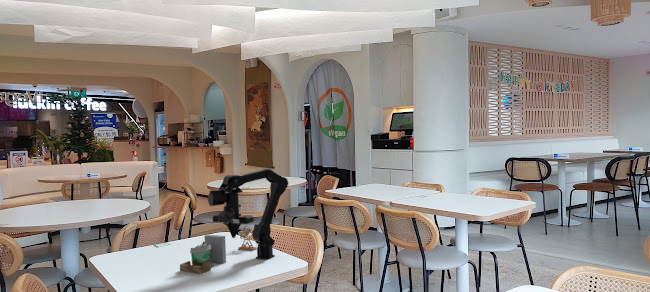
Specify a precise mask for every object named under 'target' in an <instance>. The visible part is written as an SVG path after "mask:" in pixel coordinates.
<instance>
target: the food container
mask: <svg viewBox="0 0 650 292" xmlns="http://www.w3.org/2000/svg"><path fill="white" fill-rule="evenodd" d="M210 249H211V245H210V243H209V242H205V241H202V243H201V244H199V245H196V246H195V247H191V248H190V252H189V254H190V256H191V265H195V266H203V265H206V264H208V263H210V262H209V258H210Z"/></svg>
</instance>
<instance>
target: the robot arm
mask: <svg viewBox="0 0 650 292" xmlns="http://www.w3.org/2000/svg"><path fill="white" fill-rule="evenodd" d="M262 179H265V180H266V181H268V182H269V183H270V187H269V189H270V190H269V191H270V194H269V197H268V199H267V202H266V205H265V208H264V210H263V214H262V216H261V219H260V222H259V223H258V224H256V223H255V224H254V226H253V228H252V230H253V231H252V230H251V232H252V233H253V234H252V233H251V235H252V236H251V237H252V239H253V240H254V242H255V243H256V244H257V247H256V248H257V249H256V251H257V252H256V254H257V256H256V257H255V258H256V259H259V260H269V259H272V258H274V257H275V256H276V255H275V254H274V253H273V252H274V250H273V246H274V244H275V240H274V238H272V236H271V233H272V231H271V229H272V228H271V223H272V221H273V218H274V216H275V212H276V209H277V207H278V204H279V200H280V199H281V198H280V197H281V196H282V195H283V194H284V193H285V192H286V190H287V189H288V186H289V181H288V178H286V177H284V176H281V175H280V174H278V173H276V172H275V171H274V170H272V169H271V168H264V169H260V170H256V171H252V172H247V173H244V174H242V173H241V174H227V175H225V176H224V177H223V180H222V183H221V184H220V186H219V188H218V189H215V190H214V189H211V190H209V193H208V196H207V203H208V205H209V206H210V207H213V206H214V207H215V206H220V205H221V206H222V205H224V204H225V205H224V206H223V210H222V211H220V212H219V213H218V214H215V215H213V216H212V223H222V224H223V225H225V227H227V229H228V230H229V232H230V236H231V238H232V239H235V238H236V236H237V233H238V231H239V229H240V227H241V225H249V224H250V223H253V222H254V221H255V220H254V219H255V218H254V217H253V215H250V214H248V215H247V214H244V215H242V213H240V207H241V204H240V203H239V201H240V200H239V193H243V192H244V191H243V190H242V189H241V188H240V187H242V186H244V185H245V184H247V183H251V182H255V181H260V180H262Z"/></svg>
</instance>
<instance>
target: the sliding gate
mask: <svg viewBox="0 0 650 292" xmlns="http://www.w3.org/2000/svg"><path fill="white" fill-rule="evenodd" d="M204 242H209V243H210V245H211V249H210V258H209V263H218V264H225V263H227V253H226V252H227V251H226V246H227V245H226V235H220V234H219V235H218V234H205V235H204Z"/></svg>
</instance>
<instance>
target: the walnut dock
mask: <svg viewBox="0 0 650 292" xmlns="http://www.w3.org/2000/svg"><path fill="white" fill-rule="evenodd" d="M211 268H212V267H211V262H209V263H208V264H206V265H203V266H195V265H192V261H190V260H188V261H186V262H185V261H184V262H182V263H180V264H179V271H180V272H181V271H182V272H183V273H190V274H197V275H204V274H206V273H208V272H211ZM203 273H204V274H203Z"/></svg>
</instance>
